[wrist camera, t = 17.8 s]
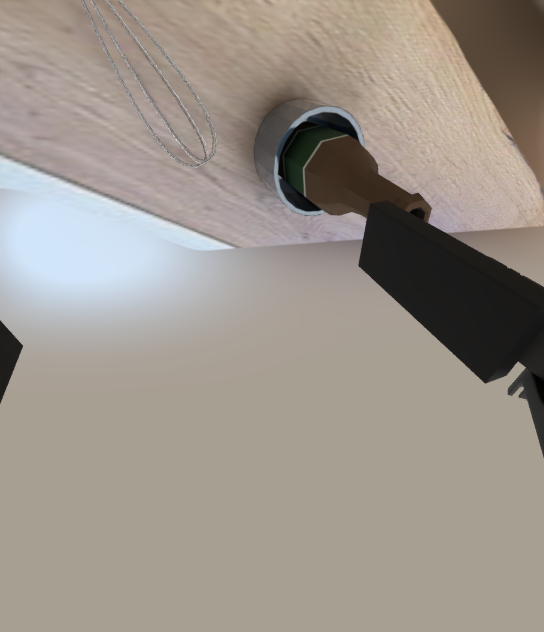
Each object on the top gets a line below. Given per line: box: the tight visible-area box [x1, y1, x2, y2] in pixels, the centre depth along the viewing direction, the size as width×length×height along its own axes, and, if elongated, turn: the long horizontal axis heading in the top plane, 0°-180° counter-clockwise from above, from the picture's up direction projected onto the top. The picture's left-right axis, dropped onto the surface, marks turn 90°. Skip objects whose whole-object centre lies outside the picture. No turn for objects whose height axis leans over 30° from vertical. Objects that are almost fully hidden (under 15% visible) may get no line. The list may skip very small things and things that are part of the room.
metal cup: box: [254, 99, 365, 216], centre depth 38 cm, size 12×12×8 cm
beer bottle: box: [278, 121, 432, 223], centre depth 32 cm, size 8×8×24 cm
